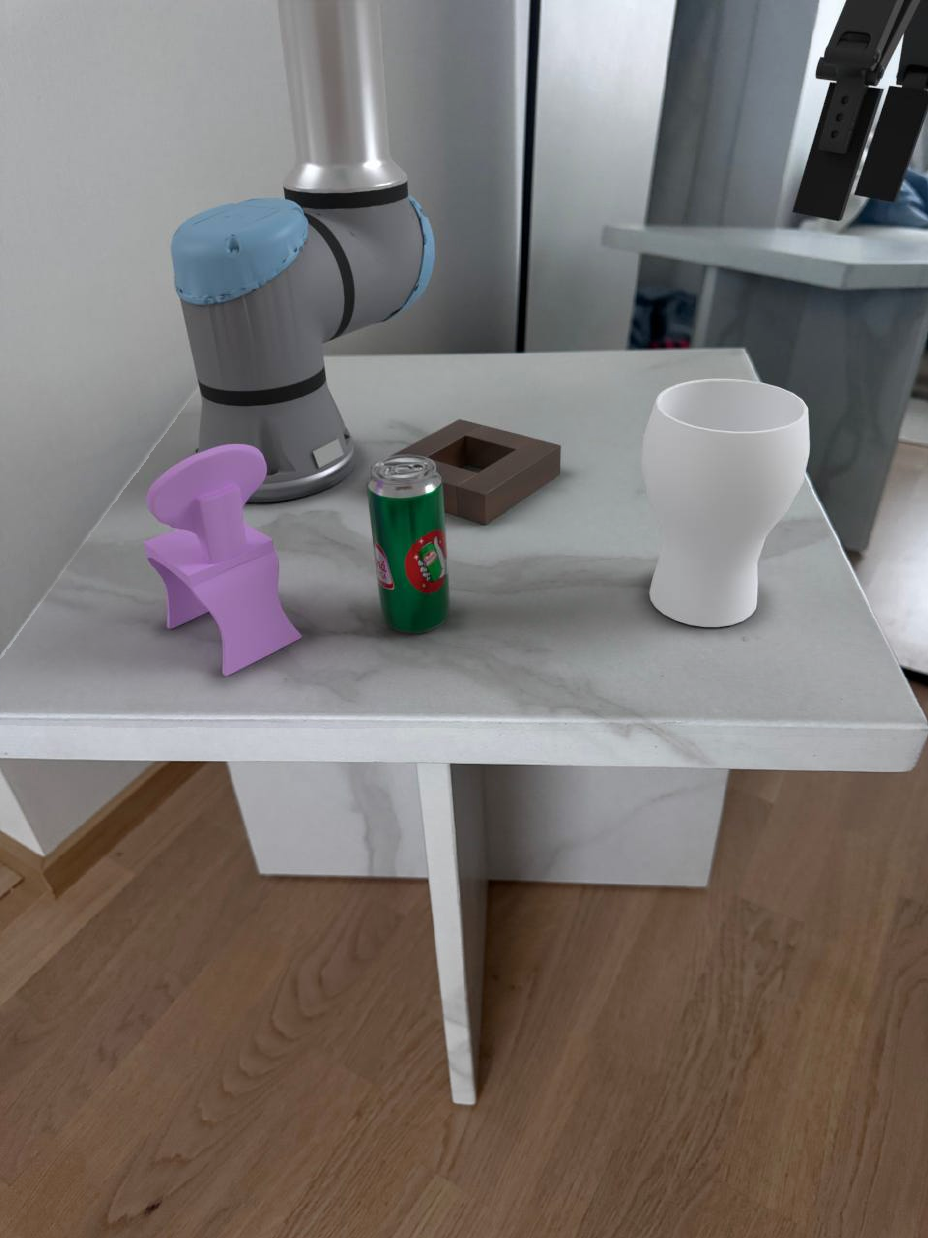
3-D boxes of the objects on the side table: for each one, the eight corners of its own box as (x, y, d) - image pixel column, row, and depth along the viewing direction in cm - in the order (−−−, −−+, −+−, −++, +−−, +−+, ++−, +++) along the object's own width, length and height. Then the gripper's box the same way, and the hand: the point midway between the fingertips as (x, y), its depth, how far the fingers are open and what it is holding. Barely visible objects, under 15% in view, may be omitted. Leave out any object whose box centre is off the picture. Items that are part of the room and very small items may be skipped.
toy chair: (249, 586, 68) (209, 402, 59) (313, 631, 62) (280, 437, 54) (151, 630, 63) (93, 439, 55) (212, 684, 58) (157, 481, 49)
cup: (784, 647, 59) (829, 440, 50) (626, 633, 61) (643, 432, 52) (771, 566, 67) (807, 377, 59) (632, 556, 69) (648, 372, 61)
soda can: (382, 600, 65) (365, 453, 58) (448, 595, 66) (440, 449, 59) (381, 640, 61) (363, 487, 54) (452, 635, 61) (443, 481, 55)
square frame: (382, 490, 81) (379, 461, 79) (460, 446, 88) (459, 418, 86) (485, 525, 74) (484, 494, 73) (560, 474, 82) (561, 444, 80)
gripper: (1057, -361, 32) (855, 240, 45) (1100, -199, 50) (947, 201, 62) (856, -344, 36) (720, 211, 48) (963, -198, 53) (843, 182, 65)
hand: (848, 206), depth 55 cm, fingers open, 13 cm apart
